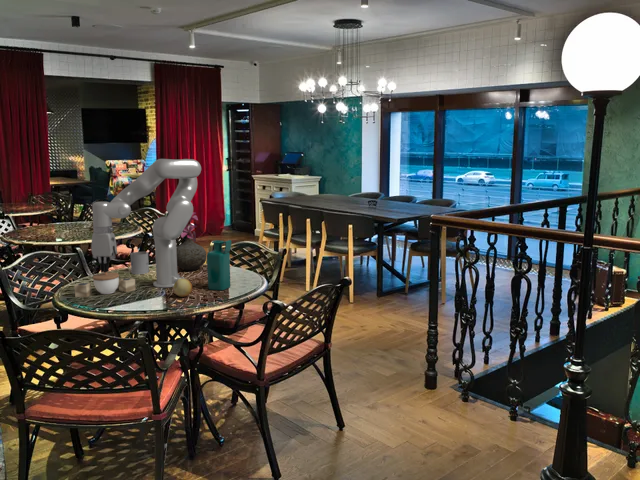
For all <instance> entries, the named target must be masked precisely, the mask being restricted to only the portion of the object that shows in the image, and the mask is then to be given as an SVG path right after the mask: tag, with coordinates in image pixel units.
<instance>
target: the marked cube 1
mask: <svg viewBox="0 0 640 480" xmlns="http://www.w3.org/2000/svg"><path fill="white" fill-rule="evenodd" d="M92 293H93V291H92V283H91V282H79V283H77V284H75V285H74V294H75V295H74V296H75V298H87V297H89V296H91V295H92Z"/></svg>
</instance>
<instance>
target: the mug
mask: <svg viewBox="0 0 640 480" xmlns="http://www.w3.org/2000/svg"><path fill="white" fill-rule="evenodd" d="M149 264H150V263H149V252H148V251H134V252H131V253H130V268H131V269H130V270H131V273H130V274H132V275H145V273H146V274H149V273H148V272H150V267H149V266H150V265H149Z"/></svg>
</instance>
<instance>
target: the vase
mask: <svg viewBox="0 0 640 480" xmlns="http://www.w3.org/2000/svg"><path fill="white" fill-rule="evenodd" d="M196 214H197V212H194V211H193V214H192V216H191V218H190V220H189V221H188V223H187V225H186V227H185V228H184V230H183V232H182V233H181V235H180V237H181V238H182V239H184V238H185V239H184V242H183V243H181V244H179V245H178V246H176V249H177V268H180V269H182V270H183V271H184V272H194V271H197V270H198V269H199V268H201V267H202V266H203V265H205V263H206V262H207V251H206V249H205V248H204V247H203V246H202V245H199V244H198V243H195V242H196V240H197V235H196V231H194V229H195V228H198V226H197V225H195V224H192V221H199V219H198V216H197V215H196Z"/></svg>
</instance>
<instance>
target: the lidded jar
mask: <svg viewBox="0 0 640 480" xmlns="http://www.w3.org/2000/svg"><path fill="white" fill-rule="evenodd" d="M119 277H120V275H119V273H118V272H101V273H98V274H95V275H93V277H92V280H93V285H94V287H95V288H94V289H96V291H97V292H98V293H99V294H100V295H109V294H115V292H116V290H117V289H119V280H120V278H119Z"/></svg>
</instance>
